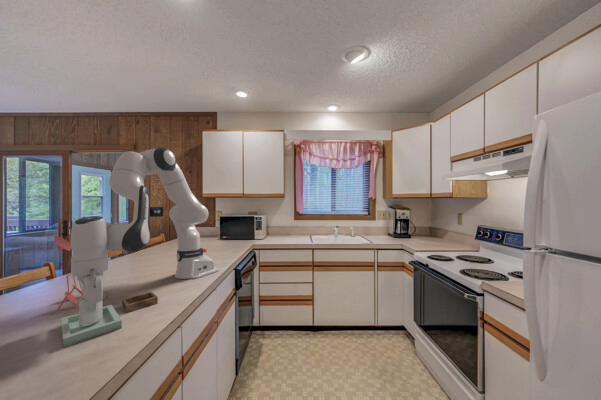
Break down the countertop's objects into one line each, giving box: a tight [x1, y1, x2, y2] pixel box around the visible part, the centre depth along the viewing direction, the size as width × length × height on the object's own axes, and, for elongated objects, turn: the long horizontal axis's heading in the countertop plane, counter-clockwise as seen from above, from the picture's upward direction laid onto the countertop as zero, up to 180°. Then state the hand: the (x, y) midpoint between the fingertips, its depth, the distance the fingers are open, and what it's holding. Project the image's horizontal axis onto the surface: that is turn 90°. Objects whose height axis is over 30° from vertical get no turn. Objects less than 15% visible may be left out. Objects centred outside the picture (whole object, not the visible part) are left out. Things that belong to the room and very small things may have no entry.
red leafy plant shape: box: [51, 216, 109, 316], centre depth 95 cm, size 15×26×35 cm, turn 33°
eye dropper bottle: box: [78, 298, 103, 327], centre depth 74 cm, size 4×6×12 cm
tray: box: [60, 304, 123, 349], centre depth 74 cm, size 17×13×2 cm
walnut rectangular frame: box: [121, 291, 159, 313], centre depth 90 cm, size 10×8×2 cm
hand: (91, 308), depth 74 cm, fingers closed on eye dropper bottle, 3 cm apart
